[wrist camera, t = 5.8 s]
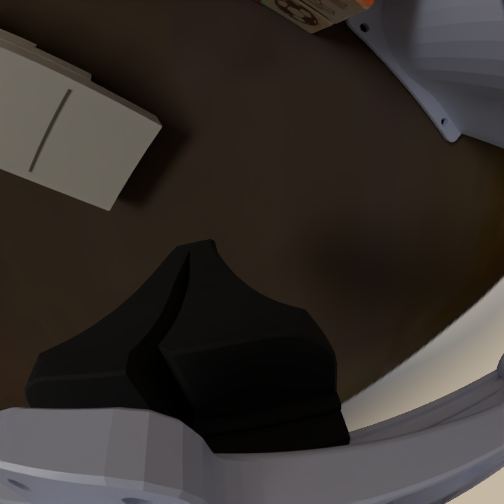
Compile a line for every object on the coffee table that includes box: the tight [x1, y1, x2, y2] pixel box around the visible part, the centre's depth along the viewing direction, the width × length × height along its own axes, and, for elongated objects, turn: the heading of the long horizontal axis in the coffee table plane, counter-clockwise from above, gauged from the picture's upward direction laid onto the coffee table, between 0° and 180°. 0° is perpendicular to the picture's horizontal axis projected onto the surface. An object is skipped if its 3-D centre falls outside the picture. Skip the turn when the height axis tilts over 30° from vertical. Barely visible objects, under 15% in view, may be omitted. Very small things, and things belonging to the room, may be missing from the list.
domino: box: [0, 39, 162, 211], centre depth 11 cm, size 2×5×9 cm
